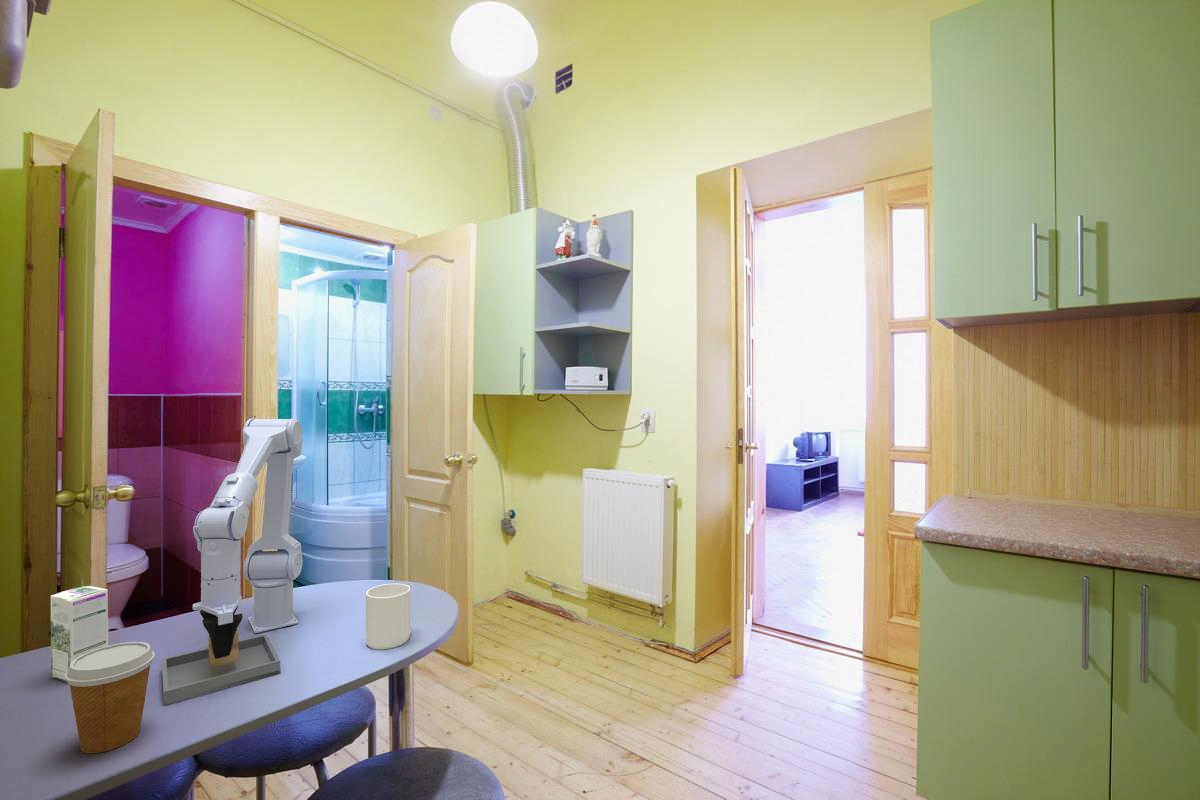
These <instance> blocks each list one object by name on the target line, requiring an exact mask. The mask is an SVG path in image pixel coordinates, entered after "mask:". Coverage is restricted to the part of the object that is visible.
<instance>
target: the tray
mask: <svg viewBox="0 0 1200 800" xmlns="http://www.w3.org/2000/svg"><path fill="white" fill-rule="evenodd" d="M208 655H209V647H206V648H200V649H197V650H193V651H189V652H185V653H180V654H176V655H173V656H168V657H163V658H161V680H162V682H161V683H162V693H163V694H162V695H163V697H162V699H163V706H168V705H172V704H175V703H178V702H182V701H186V700H189V699H193V698H196V697H199V696H203V695H208V694H211V693H214V692H218V691H222V690H226V689H229V688H232V687H237V686H240V685H243V684H246V683H251V682H254V681H257V680H261V679H265V678H268V677H271V676H275V675H280V674H281V660H280V657H279V656H278V654H277V651H276V650H275V648H274V646H273V644H272V642H271V640H270V639H269V636H268V635H267V634H266V633H265V634H260V635H256V636H253V637H248V638H244V639H240V640H239V639H238V661H236V662H232V663H228V664H224V665H220V666H216V667H212V668H211V667H210V663H209V659H208Z"/></svg>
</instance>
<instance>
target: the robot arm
mask: <svg viewBox="0 0 1200 800" xmlns="http://www.w3.org/2000/svg"><path fill="white" fill-rule="evenodd" d="M303 436H304V429H303V427H302V424H301V422H300V421H299V420H298V418H294V417H293V418H255V417H253V418H248V419H247V420H246V422H245V423H244V425H243V428H242V441H243V442H242V443H243V451H242V453H241V456H240V457H239V458H240V459H239V461H238V463H237V466H236V469H235V472H234V473H233V472H232V473H230V474H227V476H225V478H224V479H223V481H222V483H221V485H220V486H219V489H218V490H217V492H216V494H215V496H214V497H213V500H212V502H211V503H210V505H209V507H206V508H205V509H204V510H201V511H199V513H198V514H197V515H196V517H195V520H194V525H193V526H192V527H193V528H192V530H193V531H192V533H193V537H194V539H195V540H196V543H197V544H196V545H197V550H198V552H200V562H201V563H200V573H201V575H200V576H201V577H200V580H201V581H200V589H201V590H200V601H199V602H195V603H193V604H192V610H193V611H199V614H200V615H201V617H202V618H203V619H202V624H203V627H204V629H205V630H206V632H207V633H208V637H209V636H210V639H211V644H212V649H213V653H214V657H215V659H218V658H222V657H226V656H229V655H230V652H231V649H232V644H233V640H234V636H235V632H236V630H238V627H239V625H240V624H241V623H242V620H243V616H244V615H243V613H238V614H236V612H237V610H238V608H239V605H240V604H241V602H242V600H243V599H242V598H243V597H242V595H241V558H242V557H241V555H242V554H241V553H242V552H241V546H242V545H241V543H242V541H241V539H242V538H243V537H244V536H245V533H246V531H247V530H248V522H249V516H250V514H251V513H250V510H249V508H250V506H251V504H252V502H253V499H254V498H255V496H256V493H257V490H258V489H259V483H258V480H257V479H256V478H257V477H258V475H259V474H260V472H261V470H262V469H263V467H264V465H265V463H266V465H267V466H266V476H265V477H266V478H265V479H266V480H265V490H264V491H265V492H264V499H263V500H264V503H263V504H264V505H263V514H262V515H263V516H262V526H261V527H262V528H261V536H260V537H259V538H258V539H257V540H255V541H254V542H253V543H251V544H250V545H249V546H248V547H247V554H246V558H245V560H244V563H243V575H244V578H245V580H246V581H248V582H249V583H250V586H253V615H252V616H249V617H248V619H247V620H248V622H249V624H250V626H251V629H252V630H253V633H254V634H260V633H263V632H269V631H271V630H277V629H280V628H284V627H285V628H286V627H289V626H294V625H297V624H298V623H299V621H298V619H297V617H296V616H295V615H294V580H296V579H297V578H298V577H299V576H300V574H301V572H302V569H303V554H302V553H303V552H302V544H301V542H300V541H298V540H297V539H295V538H294V537H293V536H291V535H290V534H289V523H290V511H291V509H290V508H291V497H292V483H293V482H292V481H293V470H294V469H293V467H294V460H295V459H296V458H298V457H300V456H301V455H302V449H303V448H302V447H303Z"/></svg>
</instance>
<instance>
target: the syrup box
mask: <svg viewBox="0 0 1200 800" xmlns="http://www.w3.org/2000/svg"><path fill="white" fill-rule="evenodd" d="M108 593H109V591H108V589H107V588H103V587H97V586H93V585H85V586H83V585H82V586H79V587H74V588H70V589H67V590H63V591H60V592H57V593H56V594H52V595H50V653H51V654H50V664H51V666H50V667H51V668H50V669H51V671H50V674H51V675H50V677H51V678H53V679H57V680H60V681H63V682H67V680H66V679H65V677H64V676H65V673H66V672H67V671H68V669H69V666H70V663H71V662H72V661H73V660H74V659H76V658H77V657H79V656H81V655H83V654H85V653H87V652H90V651H92V650H95V649H99V648H102V647H105V646H109V599H108V598H109V597H108Z"/></svg>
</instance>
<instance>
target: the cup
mask: <svg viewBox="0 0 1200 800" xmlns="http://www.w3.org/2000/svg"><path fill="white" fill-rule="evenodd" d="M410 635H411V587H410V586H409V585H408V584H406V583H396V582H395V583H383V584H379V585H376V586H373V587H370V588H369V589H368V590H366V592H365V642H366V645H367V647H369V648H370V649H374V650H389V649H394V648H398V647H400V646H402V645H403V644H405V643H406V642H408V640H409V639H410Z"/></svg>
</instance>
